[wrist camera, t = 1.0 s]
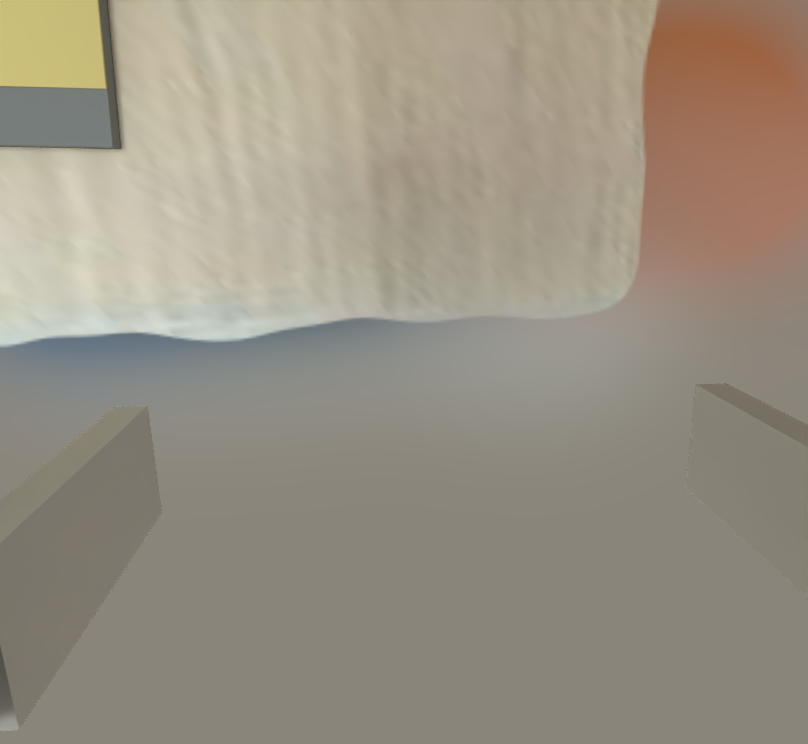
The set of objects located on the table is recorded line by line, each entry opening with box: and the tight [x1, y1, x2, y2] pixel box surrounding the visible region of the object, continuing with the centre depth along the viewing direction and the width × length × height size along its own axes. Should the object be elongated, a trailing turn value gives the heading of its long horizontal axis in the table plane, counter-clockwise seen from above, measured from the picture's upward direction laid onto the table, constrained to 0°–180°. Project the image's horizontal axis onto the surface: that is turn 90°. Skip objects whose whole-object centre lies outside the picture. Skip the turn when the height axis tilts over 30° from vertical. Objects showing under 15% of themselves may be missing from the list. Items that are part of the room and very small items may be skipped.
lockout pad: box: [0, 0, 107, 89], centre depth 33 cm, size 8×9×1 cm
